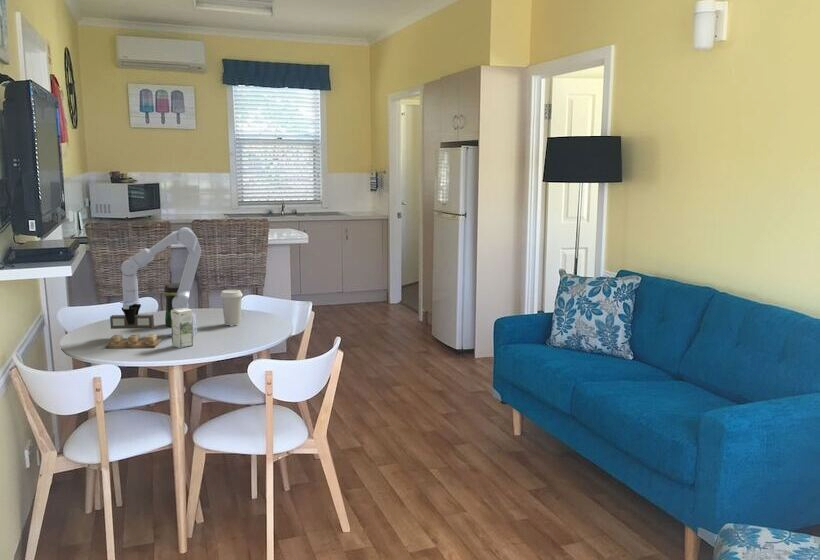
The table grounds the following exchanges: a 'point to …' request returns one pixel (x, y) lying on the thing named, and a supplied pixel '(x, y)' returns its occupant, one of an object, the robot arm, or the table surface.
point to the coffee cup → (231, 306)
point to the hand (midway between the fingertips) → (132, 323)
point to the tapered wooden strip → (139, 322)
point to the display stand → (134, 341)
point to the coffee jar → (170, 300)
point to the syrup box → (182, 327)
